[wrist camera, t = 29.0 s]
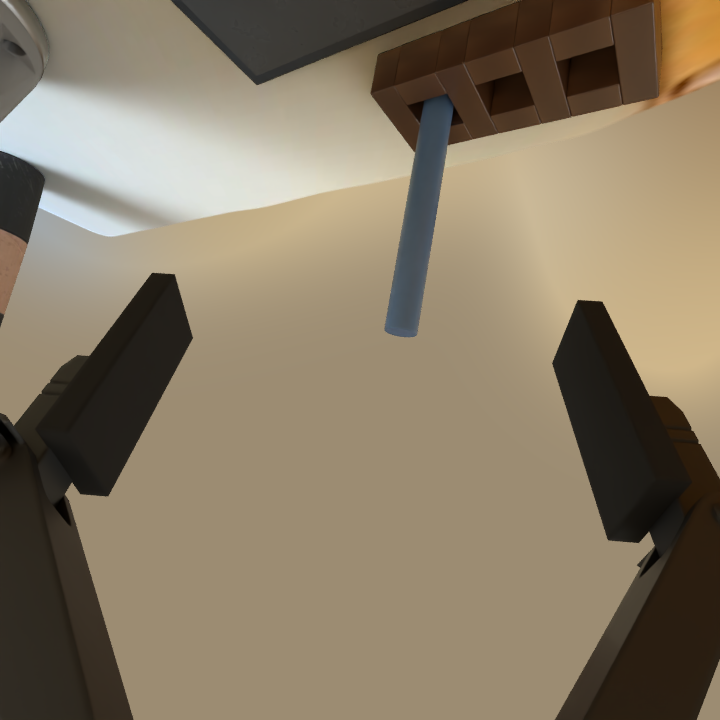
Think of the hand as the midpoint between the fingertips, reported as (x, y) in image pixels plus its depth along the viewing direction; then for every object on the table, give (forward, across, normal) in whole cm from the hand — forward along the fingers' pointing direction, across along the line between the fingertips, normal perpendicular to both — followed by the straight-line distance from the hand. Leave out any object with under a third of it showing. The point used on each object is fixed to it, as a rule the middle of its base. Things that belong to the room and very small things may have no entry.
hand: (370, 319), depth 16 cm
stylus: (+24, +3, +2) cm, 24 cm away
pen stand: (+22, +7, +4) cm, 24 cm away
